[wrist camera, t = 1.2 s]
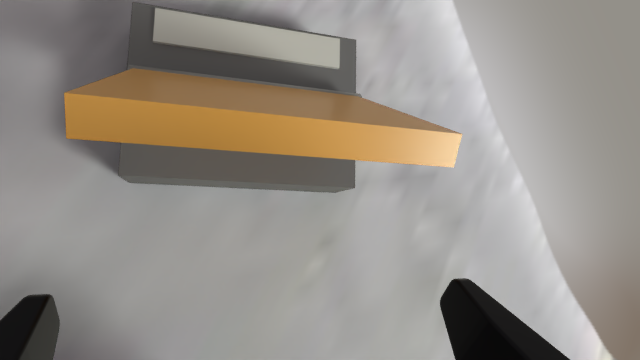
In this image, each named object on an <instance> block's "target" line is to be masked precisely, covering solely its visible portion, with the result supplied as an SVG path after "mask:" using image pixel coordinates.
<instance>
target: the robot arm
mask: <svg viewBox="0 0 640 360" xmlns="http://www.w3.org/2000/svg"><path fill="white" fill-rule="evenodd" d="M440 307H441V311H442V314H443V318H444V321H445V325H446V328H447V332H448V335H449V339H450V342H451V346H452V349H453V353H454V356H455V359H456V360H570V359H569V358H567V357H566V356H565V355H564V354H562V353H561V352H560V351H559V350H557V349H556V348H555V347H554V346H552V345H551V344H550V343H549V342H547V341H546V340H545V339H544V338H542V337H541V336H540V335H539V334H537V333H536V332H535V331H534V330H532V329H531V328H530V327H529V326H527V325H526V324H525V323H524V322H522V321H521V320H520V319H519V318H517V317H516V316H515V315H514V314H512V313H511V312H510V311H509V310H507V309H506V308H505V307H504V306H502V305H501V304H500V303H499V302H497V301H496V300H495V299H494V298H492V297H491V296H490V295H489V294H487V293H486V292H485V291H484V290H482V289H481V288H480V287H479V286H477V285H476V284H475V283H474V282H472V281H471V280H469V279H466V278H462V279H453V280H452V281H451V282H450V284H449V285H448V287H447V289H446V290H445V292H444V294H443V295H442V297H441V300H440ZM59 327H60V320H59V316H58V312H57V308H56V305H55V301H54V298H53V296H52V295H50V294H41V295H28V296H26V297H25V298H23V299H22V300H21V301H20V302H19V303H18V304H17V305H16V306H15V307H14V308H13V309H12V310H11V311H10V312H8V313H7V314H6V315H5V316H4V317H3V318H2V319H1V320H0V360H53V356H54V352H55V347H56V342H57V338H58V333H59Z"/></svg>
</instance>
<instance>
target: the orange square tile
mask: <svg viewBox="0 0 640 360" xmlns="http://www.w3.org/2000/svg"><path fill="white" fill-rule="evenodd" d="M64 98H65V121H66V138H67V139H81V140H94V141H107V142H121V143H134V144H148V145H161V146H174V147H188V148H201V149H214V150H228V151H241V152H255V153H268V154H281V155H295V156H308V157H322V158H335V159H348V160H362V161H375V162H388V163H402V164H415V165H429V166H442V167H454V165H455V161H456V157H457V153H458V149H459V145H460V141H461V137H462V134H461V133H458V132H455V131H452V130H450V129H447V128H444V127H441V126H439V125H436V124H433V123H430V122H428V121H425V120H422V119H419V118H416V117H414V116H411V115H408V114H405V113H403V112H400V111H397V110H394V109H392V108H389V107H386V106H383V105H381V104H378V103H375V102H372V101H370V100H367V99H364V98H362V96H361V94H357V93H349V92H341V91H333V90H325V89H318V88H310V87H302V86H294V85H286V84H278V83H270V82H263V81H255V80H247V79H239V78H231V77H223V76H215V75H207V74H200V73H192V72H184V71H176V70H168V69H160V68H152V67H145V66H137V65H129V66H128V70H127V71H124V72H121V73H118V74H116V75H113V76H110V77H107V78H104V79H101V80H99V81H96V82H93V83H90V84H87V85H85V86H82V87H79V88H76V89H73V90H71V91H68V92H65V93H64Z"/></svg>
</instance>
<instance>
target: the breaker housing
mask: <svg viewBox="0 0 640 360" xmlns="http://www.w3.org/2000/svg"><path fill="white" fill-rule="evenodd" d="M129 65H137V66H145V67H152V68H160V69H168V70H176V71H184V72H192V73H200V74H207V75H215V76H223V77H231V78H239V79H247V80H255V81H263V82H270V83H278V84H286V85H294V86H302V87H310V88H318V89H325V90H333V91H341V92H349V93H356V40H354V39H348V38H342V37H336V36H331V35H325V34H319V33H313V32H307V31H301V30H295V29H289V28H283V27H277V26H271V25H266V24H260V23H254V22H248V21H242V20H236V19H230V18H224V17H218V16H212V15H206V14H201V13H195V12H189V11H183V10H177V9H171V8H165V7H159V6H153V5H147V4H141V3H136V2H133V3H132V15H131V27H130V39H129V51H128V63H127V70H128V66H129ZM118 176H120V177H121V178H123V179H124V180H126V181H127V182H129V183H145V184H165V185H186V186H207V187H228V188H248V189H269V190H290V191H310V192H331V193H336V192H340V191H344V190H348V189H353V188H355V160H348V159H335V158H322V157H308V156H295V155H281V154H268V153H255V152H241V151H228V150H214V149H201V148H188V147H174V146H161V145H148V144H134V143H121V147H120V159H119V172H118Z"/></svg>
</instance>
